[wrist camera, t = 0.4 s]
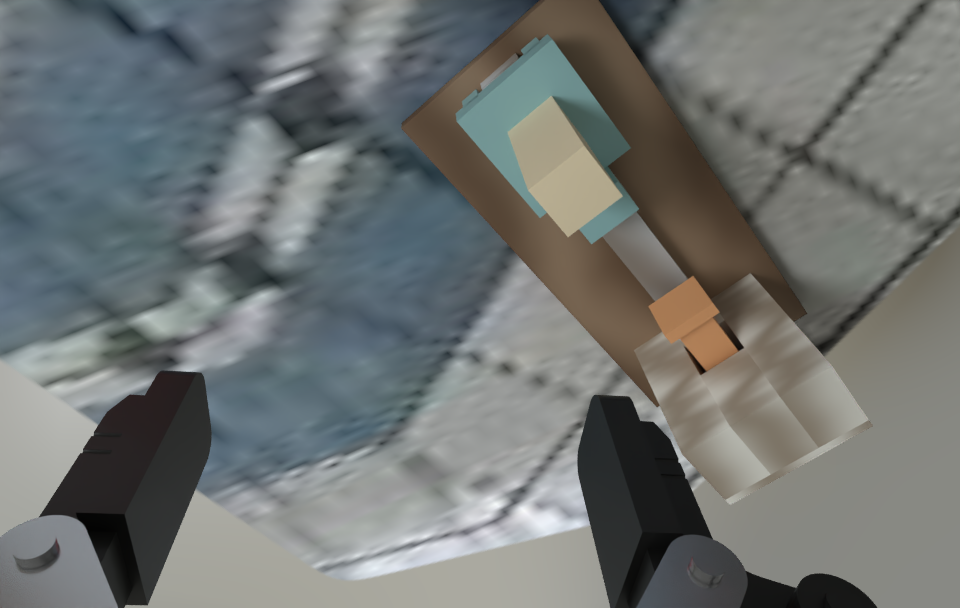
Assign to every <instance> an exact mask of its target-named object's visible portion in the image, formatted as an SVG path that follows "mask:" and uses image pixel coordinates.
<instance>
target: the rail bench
mask: <svg viewBox="0 0 960 608" xmlns="http://www.w3.org/2000/svg"><path fill="white" fill-rule="evenodd" d="M547 34H548V35H549V36H550V37H551V38H552V40H553V41H554V42H555V44H556V45H557V46H558V48H559V49H560V51H561V52H562V53H563V55H564V56H565V57H566V59H567V60H568V62H569V63H570V64H571V66H572V67H573V69H574V70H575V71H576V73H577V74H578V75H579V77H580V78H581V80H582V81H583V82H584V84H585V85H586V86H587V88H588V89H589V91H590V92H591V93H592V95H593V96H594V97H595V99H596V100H597V102H598V103H599V104H600V106H601V107H602V108H603V110H604V111H605V113H606V114H607V115H608V117H609V118H610V120H611V121H612V122H613V124H614V125H615V126H616V128H617V129H618V131H619V132H620V133H621V135H622V136H623V137H624V139H625V140H626V142H627V143H628V144H629V146H630V147H631V148H630V149H629V150H628V151H627V152H625V153H624V154H623V155H621V156H620V157H619V158H617V159H616V160H615V161H614V162H612V163H611V164H610V165H608V167H609V169H610V170H611V171H612V173H613V174H614V175H615V177H616V178H617V179H618V181H619V182H620V183H621V184H622V186H623V187H624V188H625V190H626V191H627V192H628V194H629V195H630V197H631V198H632V200H633V201H634V202H635V204H636V205H637V207H638V208H639V210H638V211H636V212H635V213H634V214H632V215H631V216H629V217H628V218H627V219H625V220H624V221H623V222H621V223H620V224H619V225H617V226H616V227H614V228H613V229H612V230H610V231H609V232H608V233H606V234H605V235H604V236H602V237H601V238H600V239H598V240H597V241H595V242H594V243H593V244H591V243H590V242H589V241H588V239H587V238H586V237H585V236H584V235H583V233H582V232H581V231H580V230H579V229H578V230H577V231H576V232H574V233H573V234H572V235H570V236H569V237H567V236H566V234H565V233H564V232H563V231H562V230H561V228H560V227H559V226H558V225H557V224H556V223H555V221H554V220H553V219H552V218H551V217H550V216H549V214H548V213H546V214H545V215H543V216H542V217H541V218H539V216H538V215H537V214H536V213H535V212H534V211H533V209H532V208H531V207H530V206H529V205H528V204H527V202H526V201H525V200H524V199H523V198H522V197H521V196H520V194H519V193H518V192H517V191H516V190H515V189H514V187H513V186H512V185H511V184H510V183H509V182H508V180H507V179H506V178H505V177H504V176H503V175H502V173H501V172H500V171H499V170H498V169H497V168H496V167H495V165H494V164H493V163H492V162H491V161H490V160H489V158H488V157H487V156H486V155H485V154H484V153H483V151H482V150H481V149H480V148H479V147H478V146H477V145H476V143H475V142H474V141H473V140H472V139H471V138H470V136H469V135H468V134H467V133H466V132H465V131H464V129H463V128H462V127H461V126H460V125H459V124H458V122H457V120H456V113H457V112H458V111H459V110H460V109H461V108H463V105H462V101H463V100H464V99H465V98H466V97H467V96H469V95H470V94H471V93H472V92H473V91H474V90H476V89H477V90H478V92H479V93H480V92H481V91H482V90H483V89H484V88H486V87H487V86H488V85H489V84H490V83H491V82H493V81H494V80H495V79H496V78H497V77H498V76H499V75H501V74H502V73H503V72H504V71H505V70H506V69H508V68H509V67H510V66H511V65H512V64H513V63H514V62H516V61H517V60H518V59H519V58H520V57H521V56H522V55H523V53H522V52H521V49H523V48H524V47H525V46H526V45H527V44H528V43H529V42H531V41H532V40H533V39H534V38H535V37H536V38H537V39H538V40H539V41H540V40H541V39H542V38H543V37H544V36H546V35H547ZM401 128H402V130H403V131H404V132H405V133H406V134H407V135H408V136H409V137H410V138H411V139H412V140H413V142H414V143H415V144H416V145H417V146H418V147H419V148H420V149H421V150H422V151H423V152H424V154H425V155H426V156H427V157H428V158H429V159H430V160H431V161H432V162H433V163H434V164H435V166H436V167H437V168H438V169H439V170H440V171H441V172H442V173H443V174H444V175H445V176H446V178H447V179H448V180H449V181H450V182H451V183H452V184H453V185H454V186H455V187H456V188H457V190H458V191H459V192H460V193H461V194H462V195H463V196H464V197H465V198H466V199H467V200H468V202H469V203H470V204H471V205H472V206H473V207H474V208H475V209H476V210H477V211H478V212H479V214H480V215H481V216H482V217H483V218H484V219H485V220H486V221H487V222H488V223H489V224H490V226H491V227H492V228H493V229H494V230H495V231H496V232H497V233H498V234H499V235H500V236H501V238H502V239H503V240H504V241H505V242H506V243H507V244H508V245H509V246H510V247H511V248H512V250H513V251H514V252H515V253H516V254H517V255H518V256H519V257H520V258H521V259H522V260H523V262H524V263H525V264H526V265H527V266H528V267H529V268H530V269H531V270H532V271H533V272H534V274H535V275H536V276H537V277H538V278H539V279H540V280H541V281H542V282H543V283H544V284H545V286H546V287H547V288H548V289H549V290H550V291H551V292H552V293H553V294H554V295H555V296H556V298H557V299H558V300H559V301H560V302H561V303H562V304H563V305H564V306H565V307H566V308H567V310H568V311H569V312H570V313H571V314H572V315H573V316H574V317H575V318H576V319H577V320H578V321H579V323H580V324H581V325H582V326H583V327H584V328H585V329H586V330H587V331H588V332H589V333H590V335H591V336H592V337H593V338H594V339H595V340H596V341H597V342H598V343H599V344H600V345H601V347H602V348H603V349H604V350H605V351H606V352H607V353H608V354H609V355H610V356H611V357H612V359H613V360H614V361H615V362H616V363H617V364H618V365H619V366H620V367H621V368H622V369H623V371H624V372H625V373H626V374H627V375H628V376H629V377H630V378H631V379H632V380H633V381H634V383H635V384H636V385H637V386H638V387H639V388H640V389H641V390H642V391H643V392H644V393H645V395H646V396H647V397H648V398H649V399H650V400H651V401H652V402H653V403H654V404H655V405H656V407H658V406H660V407H661V409H662V412H663V414H664V416H665V418H666V420H667V422H668V424H669V427H670V429H671V431H672V433H673V435H674V437H675V440H676V442H677V444H678V446H679V448H680V450H681V452H682V455H683V456H684V457H685V458H686V459H687V460H688V461H689V462H690V463H691V464H692V465H693V466H694V467H695V468H696V469H697V471H698V472H699V473H700V474H701V475H702V476H703V477H704V478H705V479H706V480H707V481H708V482H709V483H710V484H711V485H712V486H713V487H714V489H715V490H716V491H717V492H718V493H719V494H720V495H721V496H722V497H723V498H724V499H725V500H726V501H727V502H728V503H729V505H731V504H733V503H735V502H736V501H738V500H740V499H742V498H744V497H745V496H747V495H749V494H751V493H753V492H754V491H756V490H758V489H760V488H762V487H764V486H765V485H767V484H769V483H771V482H772V481H774V480H776V479H778V478H780V477H782V476H783V475H785V474H787V473H789V472H791V471H793V470H794V469H796V468H798V467H800V466H802V465H803V464H805V463H807V462H809V461H811V460H812V459H814V458H816V457H818V456H820V455H821V454H823V453H825V452H827V451H829V450H831V449H832V448H834V447H836V446H838V445H840V444H841V443H843V442H845V441H847V440H849V439H850V438H852V437H854V436H856V435H858V434H859V433H861V432H863V431H865V430H867V429H869V428H870V427H872V424H871V422H870V421H869V419H868V418H867V416H866V415H865V414H864V412H863V411H862V409H861V408H860V406H859V405H858V403H857V402H856V400H855V399H854V397H853V396H852V394H851V393H850V391H849V390H848V389H847V387H846V385H845V384H844V382H843V381H842V380H841V378H840V377H839V375H838V374H837V372H836V371H835V369H834V368H833V366H832V365H831V364H830V363H829V362H828V361H827V359H826V358H825V357H824V356H823V355H822V354H821V353H820V351H819V350H818V349H817V348H816V347H815V346H814V345H813V343H812V342H811V341H810V340H809V339H808V338H807V337H806V336H805V334H804V333H803V332H802V331H801V330H800V329H799V328H798V326H797V325H796V324H795V323H794V321H796V320H798V319H799V318H801V317H802V316H804V315H806V314H807V312H806V311H805V309H804V308H803V306H802V305H801V303H800V302H799V300H798V299H797V297H796V296H795V294H794V293H793V291H792V290H791V288H790V287H789V285H788V284H787V282H786V281H785V279H784V278H783V276H782V275H781V273H780V272H779V270H778V269H777V267H776V266H775V264H774V263H773V261H772V260H771V258H770V257H769V255H768V254H767V252H766V251H765V249H764V248H763V246H762V245H761V243H760V242H759V240H758V239H757V237H756V236H755V234H754V233H753V231H752V230H751V228H750V227H749V225H748V224H747V222H746V221H745V219H744V218H743V216H742V215H741V213H740V212H739V210H738V209H737V207H736V206H735V204H734V203H733V201H732V200H731V198H730V197H729V195H728V194H727V192H726V191H725V189H724V188H723V186H722V185H721V183H720V182H719V180H718V179H717V177H716V176H715V174H714V173H713V171H712V170H711V168H710V167H709V165H708V164H707V162H706V161H705V159H704V158H703V156H702V155H701V153H700V152H699V150H698V149H697V147H696V146H695V144H694V143H693V141H692V140H691V138H690V137H689V135H688V134H687V132H686V131H685V129H684V128H683V126H682V125H681V123H680V122H679V120H678V119H677V117H676V116H675V114H674V113H673V111H672V110H671V108H670V107H669V105H668V104H667V102H666V101H665V99H664V98H663V96H662V95H661V93H660V92H659V90H658V89H657V87H656V86H655V84H654V83H653V81H652V80H651V78H650V77H649V75H648V74H647V72H646V71H645V69H644V68H643V66H642V65H641V63H640V62H639V60H638V59H637V57H636V56H635V54H634V53H633V51H632V50H631V48H630V47H629V45H628V44H627V42H626V41H625V39H624V38H623V36H622V35H621V33H620V32H619V30H618V29H617V27H616V26H615V24H614V23H613V21H612V20H611V18H610V17H609V15H608V14H607V12H606V11H605V9H604V7H603V6H602V4H601V3H600V1H599V0H540V1H538V2H537V3H536V4H535V5H534V6H533V7H532V8H531V9H529V10H528V11H527V12H526V13H525V14H524V15H523V16H522V17H521V18H519V19H518V20H517V21H516V22H515V23H514V24H513V25H512V26H510V27H509V28H508V29H507V30H506V31H505V32H504V33H503V34H501V35H500V36H499V37H498V38H497V39H496V40H495V41H494V42H492V43H491V44H490V45H489V46H488V47H487V48H486V49H485V50H483V51H482V52H481V53H480V54H479V55H478V56H477V57H476V58H474V59H473V60H472V61H471V62H470V63H469V64H468V65H467V66H465V67H464V68H463V69H462V70H461V71H460V72H459V73H458V74H456V75H455V76H454V77H453V78H452V79H451V80H450V81H449V82H448V83H446V84H445V85H444V86H443V87H442V88H441V89H440V90H439V91H437V92H436V93H435V94H434V95H433V96H432V97H431V98H430V99H428V100H427V101H426V102H425V103H424V104H423V105H422V106H421V107H419V108H418V109H417V110H416V111H415V112H414V113H413V114H412V115H410V116H409V117H408V118H407V119H406V120H405V121H404V122H403V123H402V126H401ZM692 276H694V278H695V279H696V280H697V282H698V283H699V284H700V286H701V287H702V288H703V290H704V291H705V292H706V294H707V295H708V297H709V298H710V299H711V301H712V302H713V304H714V305H715V306H716V308H717V309H718V311H719V312H720V313H718V314H717V315H715V316H714V318H715V319H716V321H717V322H718V323H719V325H720V326H721V327H722V329H723V330H724V331H725V332H726V334H727V335H728V336H729V338H730V339H731V340H732V342H733V343H734V344H735V345H736V347H737V348H738V350H739V352H737V353H736V354H734V355H732V356H731V357H729V358H728V359H726V360H724V361H723V362H721V363H720V364H718V365H716V366H715V367H713V368H712V369H710V370H708V371H706V370H705V369H704V368H703V366H702V365H701V364H700V363H699V362H698V360H697V359H696V358H695V357H694V355H693V354H692V353H691V352H690V351H689V349H688V348H687V347H686V346H685V345H684V343H683V342H682V341H681V340H680V339H678V340H677V341H675V342H674V343H672V344H671V343H670V342H669V340H668V339H667V338H666V337H665V336H664V334H663V332H662V330H661V329H660V327H659V325H658V323H657V321H656V320H655V318H654V316H653V314H652V312H651V310H650V309H649V307H648V306H649V305H651V304H652V303H654V302H655V301H657V300H658V299H660V298H661V297H663V296H664V295H666V294H667V293H668V292H670V291H671V290H673V289H674V288H676V287H677V286H679V285H680V284H682V283H683V282H685V281H686V280H688V279H689V278H691V277H692Z"/></svg>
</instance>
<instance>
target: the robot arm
mask: <svg viewBox="0 0 960 608" xmlns="http://www.w3.org/2000/svg"><path fill="white" fill-rule="evenodd" d="M211 435H212V434H211V423H210V416H209V409H208V401H207V394H206V387H205V380H204V376H203V374H202V373H199V372H181V371H160V372H159V373H158V374H157V376H156V377H155V379H154V381H153V382H152V384H151V386H150V388H149V389H148V391H147V393H146V394H145V395H129V396H127V397H126V398H125V399H123V400H122V401H121V402H120V403H118V404H117V405H116V406H114V407H113V408H112V409H110V410H109V411H108V412H107V413H106V414H105V416H104V417H103V419H102V421H101V422H100V424H99V425H98V427H97V428H96V430H95V431H94V436H91V438H90V439H89V441H88V442H87V444H86V445H85V447H84V449H83V453H80V455H79V456H78V458H77V459H76V461H75V463H74V464H73V465H72V467H71V469H70V470H69V472H68V473H67V475H66V476H65V478H64V479H63V481H62V482H61V484H60V486H59V487H58V489H57V490H56V492H55V493H54V495H53V496H52V498H51V500H50V501H49V503H48V505H47V506H46V508H45V509H44V510H43V512H42V513H41V515H40V516H39V518H35V519H32V520H29V521H27V522H24V523H22V524H20V525H18V526H16V527H14V528H13V529H11V530H9V531H8V532H6V533H5V534H4V535H2V536H1V537H0V608H124V607H125V605H148V603H149V600H150V598H151V596H152V593H153V591H154V588H155V586H156V583H157V581H158V579H159V576H160V574H161V571H162V569H163V567H164V564H165V562H166V559H167V557H168V554H169V552H170V549H171V547H172V544H173V542H174V540H175V537H176V535H177V532H178V530H179V528H180V525H181V523H182V520H183V518H184V516H185V513H186V511H187V508H188V506H189V503H190V501H191V498H192V496H193V494H194V491H195V489H196V486H197V484H198V482H199V479H200V477H201V474H202V472H203V469H204V467H205V465H206V462H207V459H208V456H209V452H210V447H211ZM578 475H579V480H580V484H581V488H582V492H583V496H584V500H585V505H586V509H587V513H588V517H589V521H590V525H591V529H592V533H593V538H594V541H595V546H596V550H597V554H598V558H599V562H600V566H601V570H602V574H603V579H604V583H605V586H606V591H607V595H608V599H609V603H610V608H877V607H876V605H875V604H874V603H873V602H872V601H871V599H870V598H869V597H868V596H867V595H866V594H865V593H863V592H862V591H861V590H860V589H858V588H857V587H855V586H854V585H852V584H851V583H849V582H847V581H845V580H843V579H841V578H839V577H836V576H832V575H829V574H811V575H809V576H806V577H804V578H803V579H802V580H801V581H800V583H799V584H798V586H797V588H794V587H791V586H788V585H784V584H781V583H778V582H775V581H771V580H768V579H765V578H762V577H759V576H756V575H754V574H751V573H749V572H747V571H745V569H744V567H743V565H742V563H741V562H740V560H739V559H738V558H737V556H736V555H735V554H734V553H733V552H732V551H731V550H729V549H728V548H727V547H726V546H724V545H723V544H721V543H719V542H718V541H715V540H713V538H712V536H711V534H710V532H709V529H708V527H707V525H706V522H705V520H704V518H703V515H702V513H701V511H700V508H699V506H698V504H697V502H696V499H695V497H694V494H693V492H692V490H691V487H690V485H689V483H688V480H687V479H685V473H684V471H683V469H682V466H681V464H680V463H678V457H677V455H676V452H675V450H674V448H673V445H672V443H671V441H670V439H669V438H668V437H667V436H666V435H665V434H664V433H663V432H662V431H661V429H660V428H659V427H658V426H657V425H656V424H655V423H654V422H646V421H640V419H639V417H638V414H637V412H636V409H635V407H634V404H633V402H632V400H631V398H630V397H628V396H609V395H594V396H593V397H592V399H591V402H590V406H589V410H588V414H587V418H586V421H585V425H584V429H583V433H582V437H581V441H580V445H579V449H578Z"/></svg>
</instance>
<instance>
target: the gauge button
mask: <svg viewBox="0 0 960 608" xmlns="http://www.w3.org/2000/svg"><path fill="white" fill-rule="evenodd" d="M648 307H649V309H650V310H651V312H652V314H653V316H654V318H655V320H656V321H657V323H658V325H659V327H660V329H661V330H662V332H663V334H664V336H665V337H666V338H667V339H668V340H669V342H670V343H671V344H672V343H674V342H675V341H677V340H678V339H680V340H681V341H682V342H683V343H684V345H685V346H686V347H687V348H688V349H689V351H690V352H691V353H692V354H693V355H694V357H695V358H696V359H697V360H698V362H699V363H700V364H701V365H702V366H703V368H704V369H705V370H706V371H708V370H710V369H712V368H713V367H715V366H716V365H718V364H720V363H721V362H723V361H724V360H726V359H728V358H729V357H731V356H732V355H734V354H736V353H737V352H739V350H738V348H737V347H736V345H735V344H734V343H733V342H732V340H731V339H730V338H729V336H728V335H727V334H726V332H725V331H724V330H723V329H722V327H721V326H720V325H719V323H718V322H717V321H716V319H715V318H714V316H715V315H717V314H718V313H720V312H719V311H718V309H717V308H716V306H715V305H714V304H713V302H712V301H711V299H710V298H709V297H708V295H707V294H706V292H705V291H704V290H703V288H702V287H701V286H700V284H699V283H698V282H697V280H696V279H695V278H694V276H692V277H691V278H689V279H688V280H686V281H685V282H683V283H682V284H680V285H679V286H677V287H676V288H674V289H673V290H671V291H670V292H668V293H667V294H666V295H664V296H663V297H661V298H660V299H658V300H657V301H655V302H654V303H652V304H651V305H649V306H648Z"/></svg>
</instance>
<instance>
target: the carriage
mask: <svg viewBox="0 0 960 608" xmlns="http://www.w3.org/2000/svg"><path fill="white" fill-rule="evenodd" d="M521 52H522V53H523V55H522V56H521V57H520V58H519V59H518V60H517V61H516V62H514V63H513V64H512V65H511V66H510V67H509V68H508V69H506V70H505V71H504V72H503V73H502V74H501V75H499V76H498V77H497V78H496V79H495V80H494V81H493V82H491V83H490V84H489V85H488V86H487V87H486V88H484V89H483V90H482V91H481V92H480V93H479V92H478V90H477V89H476V90H474V91H473V92H472V93H471V94H470V95H469V96H467V97H466V98H465V99H464V100H463V101H462V105H463V108H461V109H460V110H459V111H458V112H457V113H456V120H457V122H458V124H459V125H460V126H461V127H462V128H463V129H464V131H465V132H466V133H467V134H468V135H469V136H470V138H471V139H472V140H473V141H474V142H475V143H476V145H477V146H478V147H479V148H480V149H481V150H482V151H483V153H484V154H485V155H486V156H487V157H488V158H489V160H490V161H491V162H492V163H493V164H494V165H495V167H496V168H497V169H498V170H499V171H500V172H501V173H502V175H503V176H504V177H505V178H506V179H507V180H508V182H509V183H510V184H511V185H512V186H513V187H514V189H515V190H516V191H517V192H518V193H519V194H520V196H521V197H522V198H523V199H524V200H525V201H526V202H527V204H528V205H529V206H530V207H531V208H532V209H533V211H534V212H535V213H536V214H537V215H538V216H539V218H541V217H542V216H543V215H545V214H546V213H548V214H549V216H550V217H551V218H552V219H553V220H554V221H555V223H556V224H557V225H558V226H559V227H560V228H561V230H562V231H563V232H564V233H565V234H566V236H567V237H569V236H570V235H572V234H573V233H574V232H576V231H577V230H578V229H579V230H580V231H581V232H582V233H583V235H584V236H585V237H586V238H587V239H588V241H589V242H590V243H591V244H593V243H594V242H595V241H597V240H598V239H600V238H601V237H602V236H604V235H605V234H606V233H608V232H609V231H610V230H612V229H613V228H614V227H616V226H617V225H619V224H620V223H621V222H623V221H624V220H625V219H627V218H628V217H629V216H631V215H632V214H634V213H635V212H636V211H638V210H639V208H638V207H637V205H636V204H635V202H634V201H633V200H632V198H631V197H630V195H629V194H628V192H627V191H626V190H625V188H624V187H623V186H622V184H621V183H620V182H619V181H618V179H617V178H616V177H615V175H614V174H613V173H612V171H611V170H610V169H609V167H608V165H610V164H611V163H612V162H614V161H615V160H616V159H617V158H619V157H620V156H621V155H623V154H624V153H625V152H627V151H628V150H629V149H630V148H631V147H630V146H629V144H628V143H627V142H626V140H625V139H624V137H623V136H622V135H621V133H620V132H619V131H618V129H617V128H616V126H615V125H614V124H613V122H612V121H611V120H610V118H609V117H608V115H607V114H606V113H605V111H604V110H603V108H602V107H601V106H600V104H599V103H598V102H597V100H596V99H595V97H594V96H593V95H592V93H591V92H590V91H589V89H588V88H587V86H586V85H585V84H584V82H583V81H582V80H581V78H580V77H579V75H578V74H577V73H576V71H575V70H574V69H573V67H572V66H571V64H570V63H569V62H568V60H567V59H566V57H565V56H564V55H563V53H562V52H561V51H560V49H559V48H558V46H557V45H556V44H555V42H554V41H553V40H552V38H551V37H550V36H549V35H548V34H547V35H546V36H544V37H543V38H542V39H541V40H540V41H539V40H538V39H537V38H536V37H535V38H534V39H533V40H532V41H531V42H529V43H528V44H527V45H526V46H525V47H524V48H523V49H521Z"/></svg>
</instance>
